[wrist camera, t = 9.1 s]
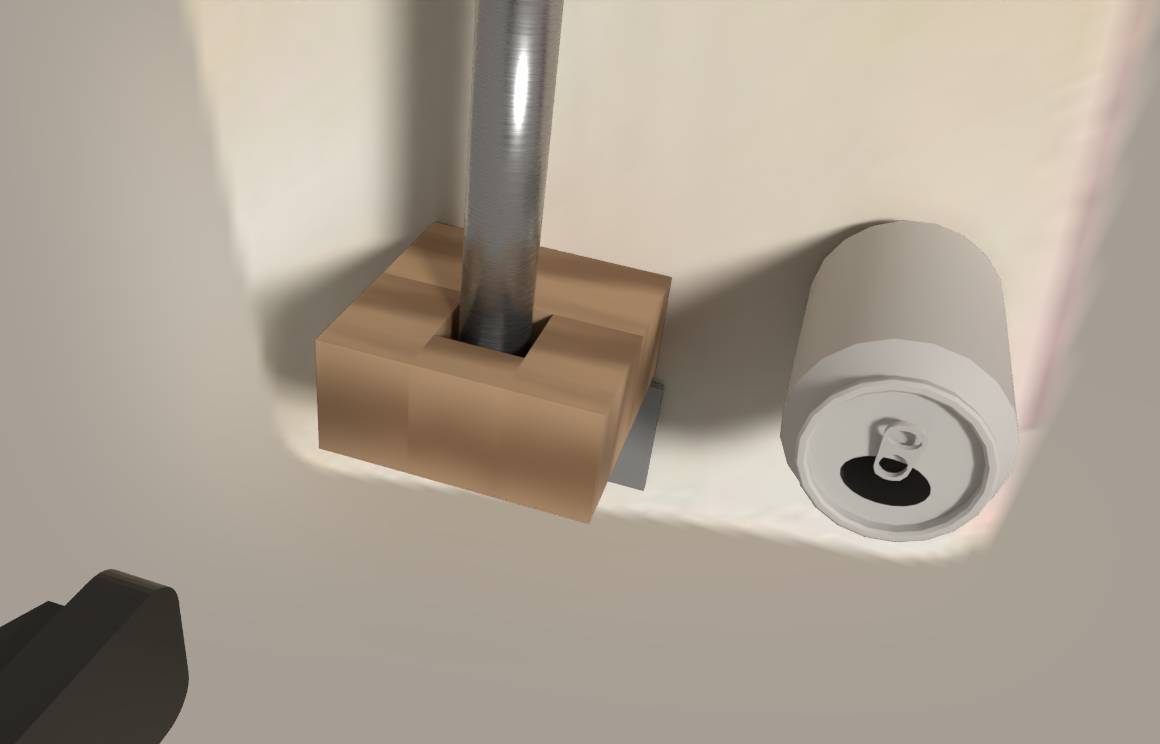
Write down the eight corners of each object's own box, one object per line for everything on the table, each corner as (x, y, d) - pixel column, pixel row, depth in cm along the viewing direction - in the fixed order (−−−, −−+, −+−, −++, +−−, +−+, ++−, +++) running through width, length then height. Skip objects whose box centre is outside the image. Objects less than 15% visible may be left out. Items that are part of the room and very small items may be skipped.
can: (790, 349, 45) (749, 522, 36) (839, 190, 41) (808, 337, 32) (964, 397, 44) (971, 590, 35) (1034, 239, 40) (1063, 407, 30)
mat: (420, 323, 50) (417, 327, 50) (663, 385, 48) (661, 389, 48) (417, 424, 54) (414, 428, 53) (645, 486, 52) (643, 490, 51)
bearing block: (434, 221, 47) (315, 339, 38) (672, 277, 45) (605, 415, 36) (430, 317, 50) (319, 448, 41) (654, 373, 48) (588, 524, 39)
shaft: (487, -157, 34) (433, -142, 30) (619, -135, 33) (579, -117, 29) (459, 362, 45) (417, 419, 41) (557, 388, 44) (523, 447, 40)
